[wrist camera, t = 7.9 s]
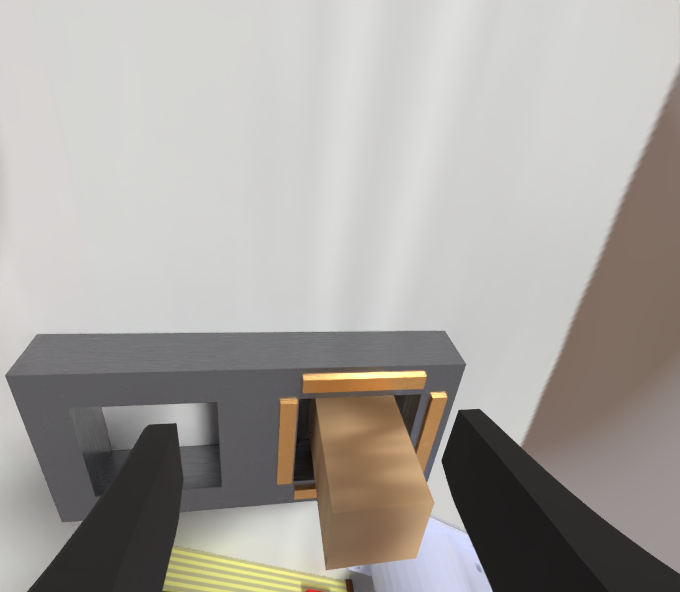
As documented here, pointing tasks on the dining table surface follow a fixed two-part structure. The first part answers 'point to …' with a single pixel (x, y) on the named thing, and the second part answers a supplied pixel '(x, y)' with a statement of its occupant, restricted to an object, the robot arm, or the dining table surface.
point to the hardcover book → (239, 575)
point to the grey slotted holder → (222, 404)
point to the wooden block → (366, 481)
